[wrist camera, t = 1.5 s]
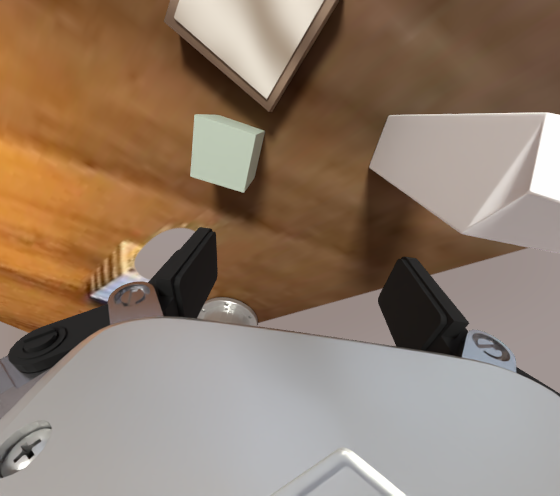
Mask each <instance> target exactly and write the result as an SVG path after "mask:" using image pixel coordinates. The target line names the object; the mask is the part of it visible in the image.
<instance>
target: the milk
mask: <svg viewBox="0 0 560 496" xmlns="http://www.w3.org/2000/svg"><path fill="white" fill-rule="evenodd" d="M369 168H370V169H372V170H373V171H374V172H376V173H377V174H379V175H380V176H381V177H383V178H384V179H386V180H387V181H388V182H390V183H391V184H392V185H394V186H395V187H397V188H398V189H399V190H401V191H402V192H404V193H405V194H406V195H408V196H409V197H411V198H412V199H413V200H415V201H416V202H418V203H419V204H420V205H422V206H423V207H424V208H426V209H427V210H429V211H430V212H431V213H433V214H434V215H436V216H437V217H438V218H440V219H441V220H443V221H444V222H445V223H447V224H448V225H450V226H451V227H452V228H454V229H455V230H456V231H458V232H459V233H461V234H464V235H469V236H474V237H479V238H484V239H489V240H494V241H499V242H504V243H509V244H514V245H519V246H524V247H529V248H534V249H539V250H544V251H549V252H554V253H560V115H557V114H553V113H487V114H430V115H389V116H388V118H387V121H386V124H385V126H384V129H383V131H382V134H381V137H380V139H379V142H378V144H377V147H376V150H375V152H374V155H373V158H372V160H371V163H370V165H369Z"/></svg>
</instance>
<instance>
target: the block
mask: <svg viewBox="0 0 560 496" xmlns="http://www.w3.org/2000/svg"><path fill="white" fill-rule="evenodd" d="M264 134H265V131H264V130H261V129H258V128H255V127H252V126H249V125H246V124H243V123H241V122H238V121H235V120H232V119H229V118H226V117H223V116H220V115H203V114H195V117H194V132H193V146H192V161H191V175H190V176H191V177H194V178H197V179H201V180H204V181H207V182H210V183H213V184H217V185H220V186H223V187H226V188H230V189H233V190H236V191H239V192H243V193H244V192H245V191H246V189H247V188H248V186H249V185H250V183H251V182H252V181H253V179H254V178H255V174H256V169H257V165H258V160H259V156H260V151H261V147H262V143H263V138H264Z"/></svg>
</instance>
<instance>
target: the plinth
mask: <svg viewBox="0 0 560 496" xmlns="http://www.w3.org/2000/svg"><path fill="white" fill-rule="evenodd" d="M339 1H340V0H170V3H169V6H168V10H167V13H166V16H165V20H164V22H165V23H166V24H167V25H168V26H170V27H171V28H172V29H173V30H174V31H175V32H177V33H178V34H179V35H180V36H181V37H182V38H184V39H185V40H186V41H187V42H188V43H189V44H191V45H192V46H193V47H194V48H195V49H196V50H198V51H199V52H200V53H201V54H202V55H203V56H204V57H206V58H207V59H208V60H209V61H210V62H211V63H213V64H214V65H215V66H216V67H217V68H218V69H220V70H221V71H222V72H223V73H224V74H225V75H227V76H228V77H229V78H230V79H231V80H232V81H234V82H235V83H236V84H237V85H238V86H239V87H240V88H242V89H243V90H244V91H245V92H246V93H247V94H249V95H250V96H251V97H252V98H253V99H254V100H256V101H257V102H258V103H259V104H260V105H261V106H263V107H264V108H265V109H266V110H267V111H268V112H272V111H273V110H274V108H275V106H276V105H277V103H278V101H279V100H280V98H281V96H282V95H283V93H284V91H285V90H286V88H287V86H288V85H289V83H290V82H291V80H292V78H293V77H294V75H295V73H296V72H297V70H298V68H299V67H300V65H301V63H302V62H303V60H304V58H305V57H306V55H307V53H308V52H309V50H310V48H311V47H312V45H313V44H314V42H315V40H316V39H317V37H318V35H319V34H320V32H321V30H322V29H323V27H324V25H325V24H326V22H327V20H328V19H329V17H330V15H331V14H332V12H333V10H334V9H335V7H336V6H337V4H338V2H339Z"/></svg>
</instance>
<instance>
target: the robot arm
mask: <svg viewBox="0 0 560 496" xmlns="http://www.w3.org/2000/svg"><path fill="white" fill-rule="evenodd" d="M216 279H217V249H216V233H215V232H213V231H212V229H209V228H202V227H200V228H198V229H197V231H196V232H195V233H194V234H193V235H192V236H191V237H190V239H189V240H188V241H187V242H186V243H185V244H184V245H183V247H182V248H181V249H180V250H178V251H176V252H175V253H174V254H173V256H172V257H171V258H170V259H169V260H168V261H167V262H166V263H165V264H164V265H163V267H162V268H161V269H160V270H159V271H158V272H157V273H156V275H154V277H153V278H152V279H151V280H150V281H149V282H148V283H147V282H132V283H128V284H125V285H123V286H121V287H119V288H117V289H116V290H115V291H114V292H112V293H111V295H110V296H109V299H108V304H107V305H104V306H101V307H98V308H95V309H92V310H89V311H87V312H84V313H81V314H78V315H75V316H72V317H69V318H66V319H63V320H61V321H58V322H55V323H52V324H49V325H46V326H43V327H41V328H38V329H36V330H34V331H32V332H30V333H28V334H27V335H25V336H24V337H22V338H21V339H20V340H19V341H17V342H16V343H15V344H14V346H13V347H12V348H11V349H10V352H9V354H8V355H7V356H6V357H3V358H2V359H0V496H560V394H559V393H558V392H556V391H555V390H553V389H551V388H550V387H548V386H546V385H545V384H543V383H542V382H540V381H538V380H537V379H535V378H533V377H532V376H530V375H529V374H527V373H525V372H524V371H522V370H520V369H519V368H517V367H516V359H515V356H514V354H513V353H512V351H511V350H510V349H509V348H508V347H507V346H506V345H505V344H504V343H502V342H501V341H500V340H499V339H497V338H495V337H494V336H492V335H490V334H488V333H486V332H483V331H479V330H470V331H469V332H468V331H467V329H466V328H465V327H466V326H467V325H468V324H469V323H468V321H467V320H466V319H465V317H464V316H463V315H462V314H461V312H460V311H459V310H458V309H457V308H456V306H455V305H454V304H453V303H452V301H451V300H450V299H449V298H448V296H447V295H446V294H445V293H444V292H443V290H442V289H441V288H440V287H439V285H438V284H437V283H436V282H435V281H434V279H433V278H432V277H431V276H430V274H429V273H428V272H427V271H426V269H425V268H424V267H423V266H422V265H421V263H420V262H419V261H418V260H417V259H416V258H410V257H402V258H401V259H398V260H397V262H396V264H395V266H394V268H393V270H392V272H391V274H390V276H389V278H388V280H387V282H386V284H385V285H384V287H383V289H382V291H381V293H380V296H379V298H378V303H379V306H380V308H381V311H382V313H383V315H384V318H385V320H386V323H387V325H388V327H389V330H390V332H391V335H392V337H393V339H394V342H395V344H396V346H397V347H396V346H389V345H382V344H376V343H369V342H363V341H356V340H349V339H342V338H335V337H328V336H321V335H315V334H307V333H301V332H294V331H286V330H279V329H272V328H265V327H258V326H257V325H258V319H257V316H256V314H255V313H254V311H253V310H252V309H251V308H250V307H249V306H247V305H246V304H244V303H242V302H240V301H238V300H235V299H231V298H224V297H222V298H213V299H210V300H208V301H206V299H207V297H208V295H209V293H210V291H211V289H212V287H213V285H214V283H215V281H216ZM205 301H206V302H205Z"/></svg>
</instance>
